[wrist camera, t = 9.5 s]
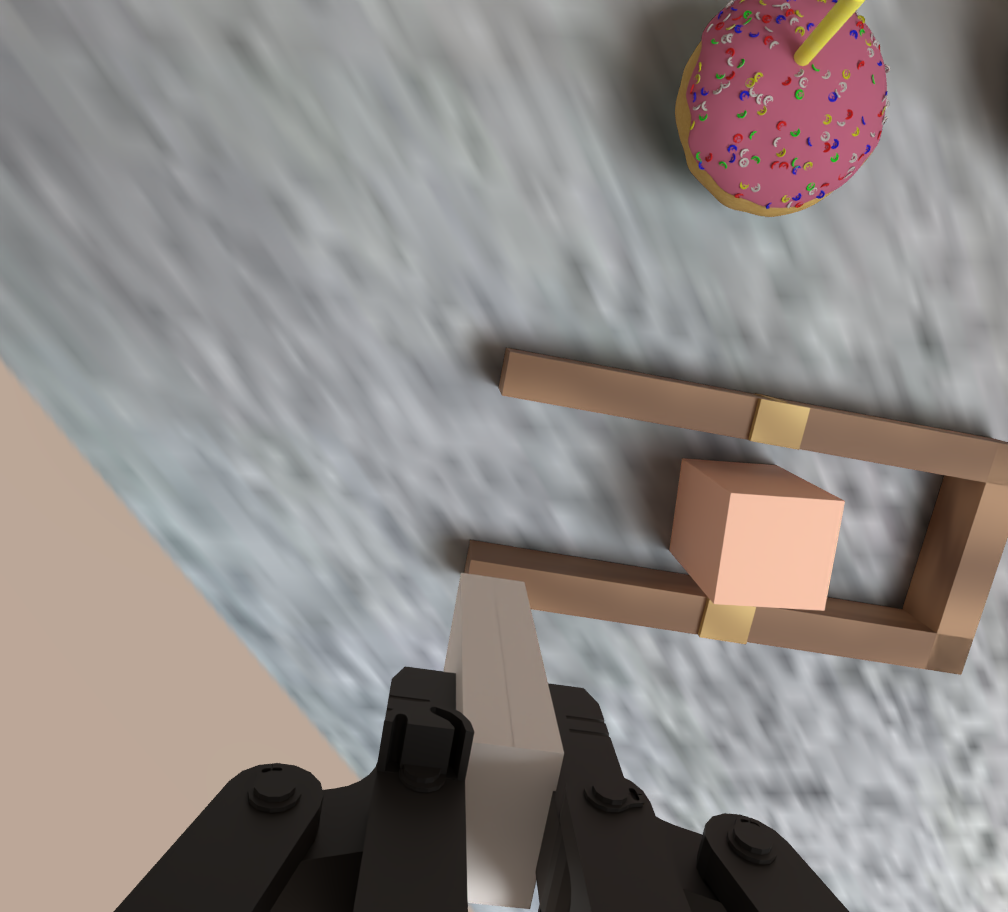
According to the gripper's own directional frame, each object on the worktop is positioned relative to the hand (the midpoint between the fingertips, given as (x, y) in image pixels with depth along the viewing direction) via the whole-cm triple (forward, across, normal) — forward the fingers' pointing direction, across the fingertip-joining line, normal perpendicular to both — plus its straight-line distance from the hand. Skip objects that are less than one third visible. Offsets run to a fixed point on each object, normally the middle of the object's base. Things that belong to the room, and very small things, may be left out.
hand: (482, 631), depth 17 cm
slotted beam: (+20, +14, -1) cm, 25 cm away
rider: (+20, +14, -1) cm, 24 cm away
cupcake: (+21, +10, +17) cm, 29 cm away
